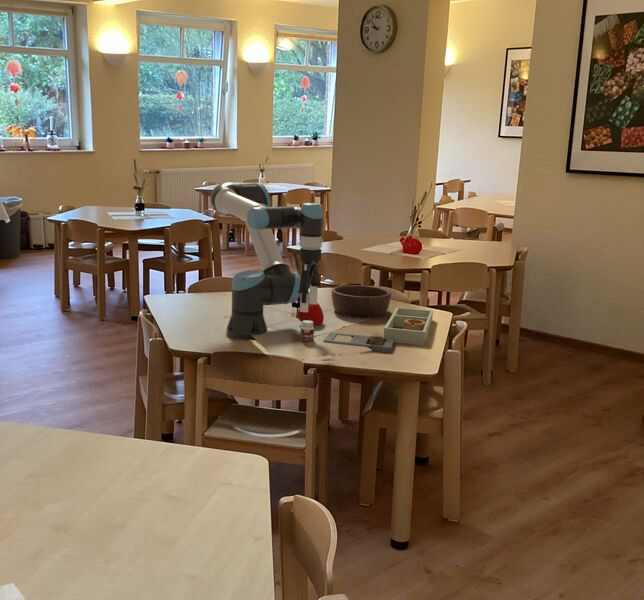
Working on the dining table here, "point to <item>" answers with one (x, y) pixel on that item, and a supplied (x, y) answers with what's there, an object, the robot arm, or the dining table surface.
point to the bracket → (414, 324)
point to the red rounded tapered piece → (312, 314)
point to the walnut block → (376, 339)
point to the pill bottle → (307, 331)
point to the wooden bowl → (360, 301)
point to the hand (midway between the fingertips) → (308, 307)
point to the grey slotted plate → (363, 342)
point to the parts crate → (408, 335)
